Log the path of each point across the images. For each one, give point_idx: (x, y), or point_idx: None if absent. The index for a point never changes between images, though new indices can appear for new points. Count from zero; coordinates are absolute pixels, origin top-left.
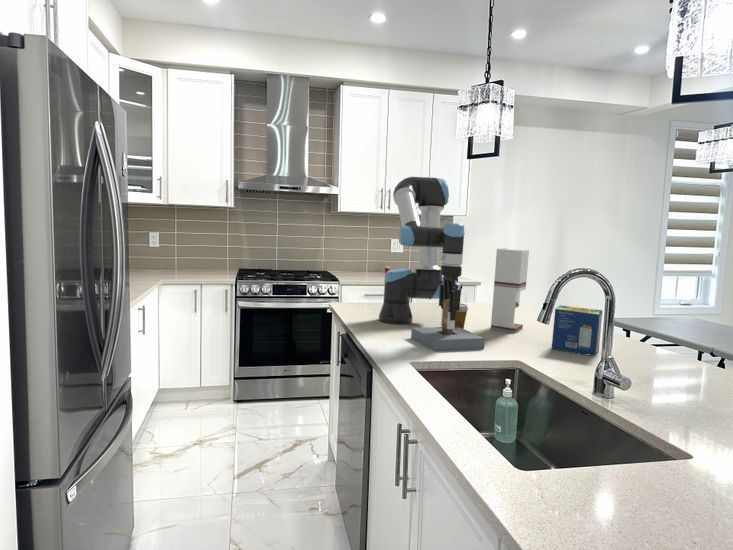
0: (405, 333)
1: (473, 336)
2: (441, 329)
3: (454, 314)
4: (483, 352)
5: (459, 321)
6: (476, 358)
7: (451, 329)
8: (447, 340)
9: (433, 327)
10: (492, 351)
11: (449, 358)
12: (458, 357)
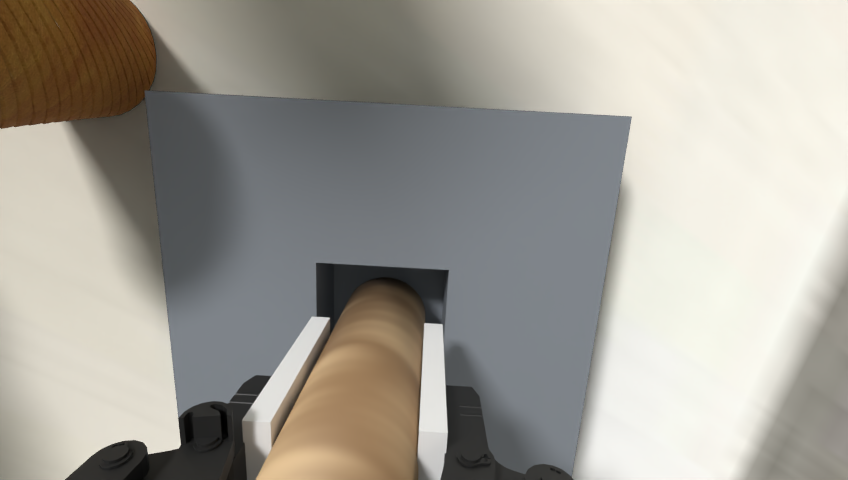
0: (95, 413)
1: (547, 183)
2: (258, 307)
3: (484, 444)
4: (669, 184)
5: (73, 36)
6: (764, 316)
7: (421, 333)
8: (576, 432)
9: (180, 332)
10: (671, 99)
11: (699, 456)
12: (703, 402)
